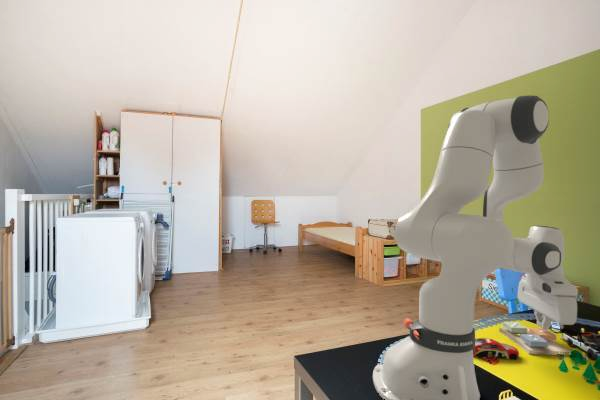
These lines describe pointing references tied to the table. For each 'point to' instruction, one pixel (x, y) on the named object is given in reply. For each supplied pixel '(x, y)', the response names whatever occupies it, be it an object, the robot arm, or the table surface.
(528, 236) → the robot arm
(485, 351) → the race car
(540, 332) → the terracotta tile
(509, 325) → the sage tile
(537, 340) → the slate tile
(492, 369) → the table surface
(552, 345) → the birch board
